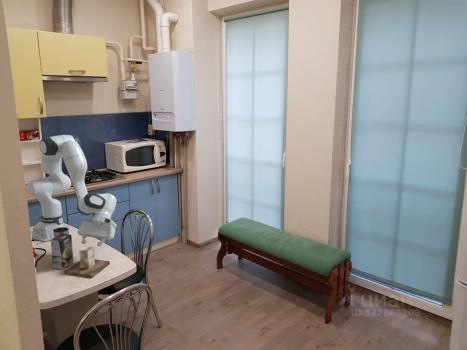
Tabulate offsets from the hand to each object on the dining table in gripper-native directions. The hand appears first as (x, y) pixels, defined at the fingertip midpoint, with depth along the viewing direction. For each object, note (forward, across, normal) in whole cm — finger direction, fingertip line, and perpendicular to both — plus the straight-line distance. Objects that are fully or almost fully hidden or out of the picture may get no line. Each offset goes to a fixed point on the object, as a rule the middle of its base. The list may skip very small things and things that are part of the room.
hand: (90, 244), depth 192 cm
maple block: (+10, 0, +4) cm, 11 cm away
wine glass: (+4, -24, +13) cm, 27 cm away
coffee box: (+12, -14, +6) cm, 19 cm away
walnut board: (+11, 0, +5) cm, 12 cm away
